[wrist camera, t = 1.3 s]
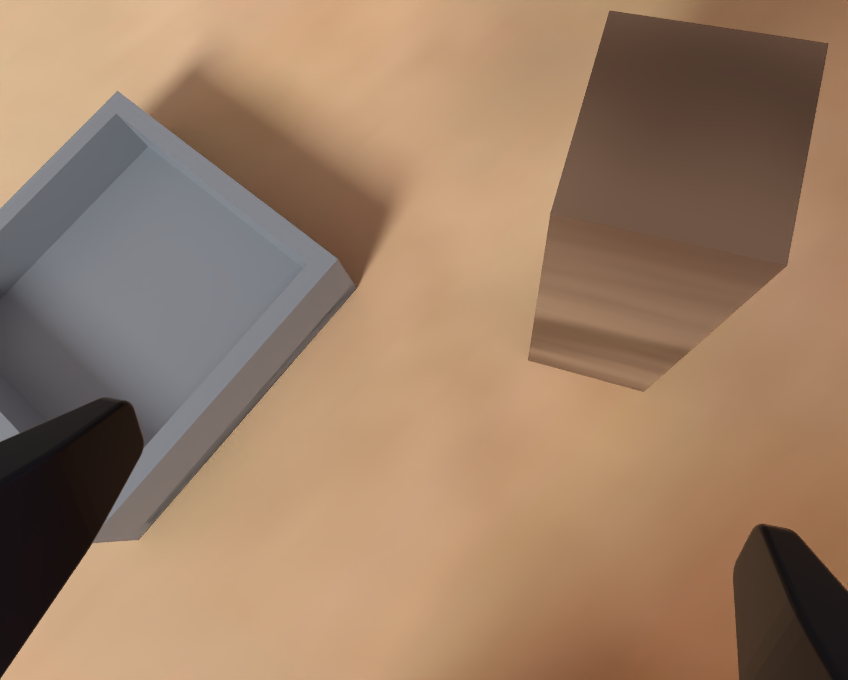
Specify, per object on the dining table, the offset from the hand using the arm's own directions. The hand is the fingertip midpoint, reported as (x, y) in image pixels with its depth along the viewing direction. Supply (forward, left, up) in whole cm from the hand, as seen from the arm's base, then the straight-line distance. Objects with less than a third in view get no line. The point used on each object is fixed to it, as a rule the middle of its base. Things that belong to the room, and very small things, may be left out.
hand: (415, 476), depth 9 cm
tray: (+15, +3, -14) cm, 21 cm away
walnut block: (0, -9, -14) cm, 17 cm away
